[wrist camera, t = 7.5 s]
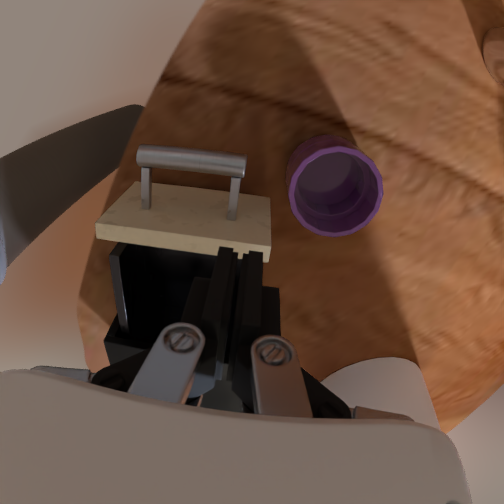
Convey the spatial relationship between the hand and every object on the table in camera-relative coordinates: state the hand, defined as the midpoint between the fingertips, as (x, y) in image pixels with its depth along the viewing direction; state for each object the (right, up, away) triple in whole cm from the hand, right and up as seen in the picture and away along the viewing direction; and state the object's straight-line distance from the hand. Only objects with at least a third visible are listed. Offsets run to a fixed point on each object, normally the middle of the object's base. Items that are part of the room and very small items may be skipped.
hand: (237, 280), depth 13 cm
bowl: (+7, +8, +13) cm, 17 cm away
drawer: (-4, +3, +15) cm, 16 cm away
